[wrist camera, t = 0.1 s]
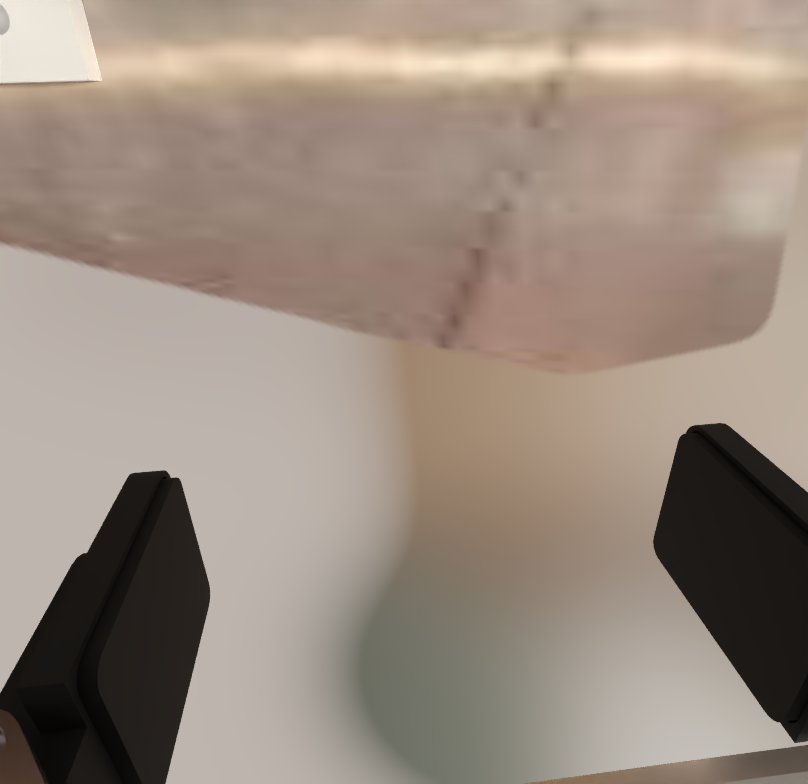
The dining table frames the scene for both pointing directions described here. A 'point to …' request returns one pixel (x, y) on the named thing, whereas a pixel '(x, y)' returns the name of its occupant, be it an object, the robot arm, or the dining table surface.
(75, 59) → the white peg board
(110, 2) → the dining table surface
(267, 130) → the dining table surface
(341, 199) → the dining table surface
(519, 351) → the dining table surface
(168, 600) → the robot arm
